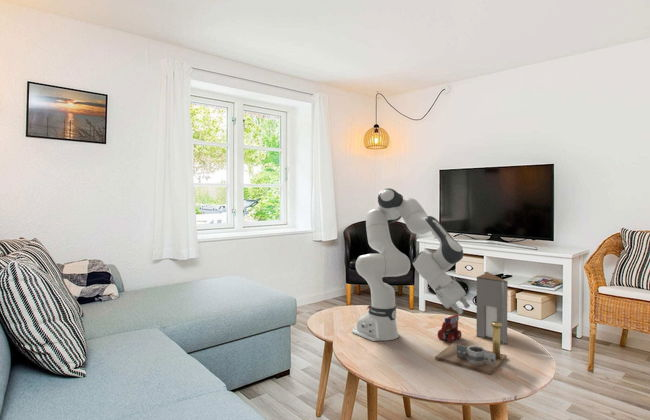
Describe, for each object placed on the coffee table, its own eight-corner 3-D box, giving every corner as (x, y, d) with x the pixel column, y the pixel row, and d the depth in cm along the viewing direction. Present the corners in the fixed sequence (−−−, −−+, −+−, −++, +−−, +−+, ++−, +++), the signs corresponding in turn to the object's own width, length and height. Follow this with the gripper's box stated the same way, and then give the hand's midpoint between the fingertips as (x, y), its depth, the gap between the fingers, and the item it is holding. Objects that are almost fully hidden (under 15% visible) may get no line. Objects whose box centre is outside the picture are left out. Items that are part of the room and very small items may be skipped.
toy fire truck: (434, 340, 180) (434, 317, 179) (450, 333, 187) (450, 312, 187) (447, 344, 174) (447, 321, 174) (463, 337, 182) (463, 315, 182)
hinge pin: (489, 357, 157) (489, 323, 156) (492, 354, 160) (492, 320, 159) (500, 360, 154) (500, 325, 154) (503, 357, 157) (503, 322, 157)
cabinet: (507, 344, 173) (507, 281, 172) (485, 344, 173) (485, 281, 172) (487, 328, 194) (487, 271, 193) (467, 328, 194) (467, 272, 193)
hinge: (454, 359, 156) (454, 347, 155) (460, 354, 160) (460, 342, 160) (492, 369, 146) (492, 356, 146) (497, 364, 151) (497, 351, 151)
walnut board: (435, 359, 159) (435, 356, 159) (453, 345, 173) (453, 342, 173) (491, 375, 145) (491, 371, 145) (506, 358, 159) (506, 355, 159)
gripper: (439, 284, 159) (463, 312, 154) (454, 275, 175) (477, 300, 170) (428, 293, 162) (452, 321, 156) (444, 284, 178) (466, 308, 173)
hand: (465, 310), depth 163 cm, fingers open, 8 cm apart
